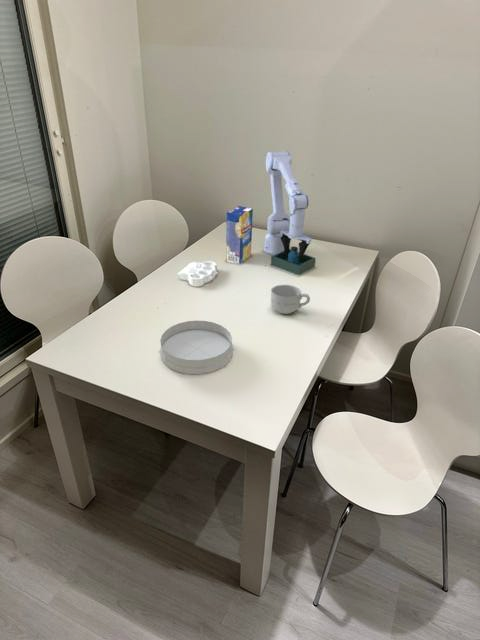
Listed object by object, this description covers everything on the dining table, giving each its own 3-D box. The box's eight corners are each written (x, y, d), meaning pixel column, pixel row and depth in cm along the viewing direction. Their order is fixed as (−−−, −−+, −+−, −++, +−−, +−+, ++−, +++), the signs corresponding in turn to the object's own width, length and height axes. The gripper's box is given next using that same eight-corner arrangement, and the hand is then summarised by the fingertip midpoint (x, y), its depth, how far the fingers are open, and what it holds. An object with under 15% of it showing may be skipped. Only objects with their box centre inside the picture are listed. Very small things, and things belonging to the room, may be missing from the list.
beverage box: (250, 256, 207) (252, 208, 195) (239, 264, 198) (241, 215, 187) (237, 252, 209) (238, 205, 198) (226, 261, 201) (226, 212, 190)
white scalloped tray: (193, 265, 197) (224, 271, 192) (173, 282, 182) (207, 289, 178) (193, 258, 195) (224, 263, 191) (173, 274, 180) (207, 281, 176)
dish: (196, 325, 155) (195, 313, 152) (246, 350, 143) (247, 337, 140) (145, 354, 140) (144, 340, 137) (197, 384, 128) (197, 370, 125)
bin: (270, 266, 198) (271, 256, 196) (287, 258, 206) (288, 248, 203) (298, 276, 190) (299, 266, 187) (314, 267, 198) (315, 257, 195)
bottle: (285, 265, 197) (286, 247, 193) (291, 262, 200) (293, 244, 196) (293, 268, 195) (295, 250, 190) (300, 265, 198) (302, 247, 193)
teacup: (264, 312, 164) (266, 292, 159) (277, 299, 172) (278, 280, 168) (301, 322, 158) (303, 302, 154) (311, 309, 167) (314, 289, 162)
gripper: (276, 222, 189) (274, 252, 196) (305, 230, 181) (302, 262, 188) (286, 218, 194) (284, 248, 201) (315, 226, 186) (312, 257, 193)
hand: (293, 254), depth 195 cm, fingers open, 7 cm apart
